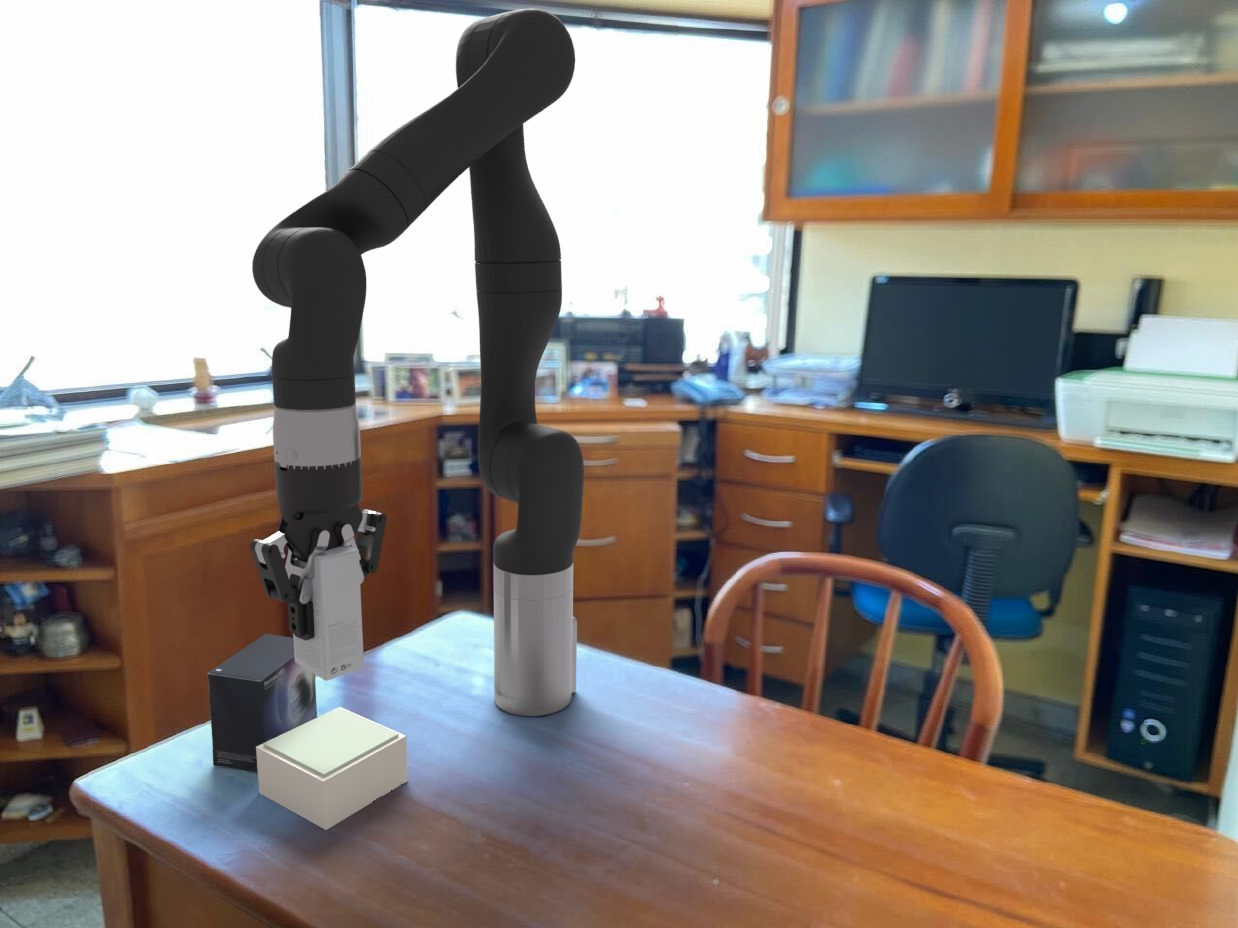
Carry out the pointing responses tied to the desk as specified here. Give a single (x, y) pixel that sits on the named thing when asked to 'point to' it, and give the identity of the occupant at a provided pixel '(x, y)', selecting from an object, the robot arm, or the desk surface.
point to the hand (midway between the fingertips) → (326, 627)
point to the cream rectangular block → (332, 766)
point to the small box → (258, 700)
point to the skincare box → (334, 616)
